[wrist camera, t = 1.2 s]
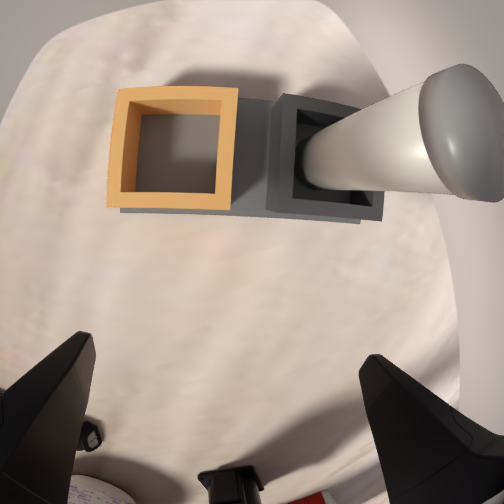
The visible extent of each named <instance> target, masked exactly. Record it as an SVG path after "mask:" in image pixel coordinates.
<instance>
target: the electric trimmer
mask: <svg viewBox="0 0 504 504" xmlns="http://www.w3.org/2000/svg"><path fill="white" fill-rule="evenodd" d="M101 443H102V440H101V437H100V434H99V431H98V428H97V426H94V425H92V424H91V423H90V422H84V423H82V427H81V431H80V436H79V440H78V445H77V449H76V451H82V450H85V451H86V452H90V451H93V450H95V449H97V448H98V447H99V446H100V445H101Z"/></svg>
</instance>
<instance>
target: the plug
mask: <svg viewBox="0 0 504 504" xmlns="http://www.w3.org/2000/svg"><path fill="white" fill-rule="evenodd" d="M294 173H295V175H296V177H297V178H298V180H299V181H300V182H301V183H302V184H303V185H305V186H306V187H308V188H310V189H314V190H368V191H399V192H420V193H436V194H449V195H456V196H457V197H460V198H462V199H468V200H477V201H485V202H499V201H501V200H502V199H503V198H504V103H503V101H502V99H501V97H500V95H499V94H498V92H497V90H496V89H495V88H494V86H493V85H492V83H491V82H490V81H489V80H488V79H487V78H486V77H485V76H484V75H483V74H482V73H481V72H480V71H479V70H477V69H476V68H474V67H472V66H470V65H466V64H458V65H455V66H452V67H450V68H447V69H445V70H442V71H440V72H437V73H435V74H432V75H431V76H429V77H428V78H427V79H426V81H425V82H422V83H420V84H418V85H415V86H413V87H410V88H408V89H406V90H403V91H401V92H399V93H397V94H394V95H392V96H390V97H388V98H385V99H383V100H381V101H379V102H377V103H375V104H373V105H370V106H368V107H366V108H364V109H362V110H360V111H358V112H356V113H354V114H352V115H350V116H348V117H346V118H344V119H342V120H340V121H338V122H336V123H334V124H332V125H330V126H328V127H326V128H324V129H323V130H321V131H319V132H317V133H315V134H313V135H311V136H309V137H308V138H306V139H304V140H302V141H301V142H300V143H299V144H298V145H297V146H296V148H295V163H294Z"/></svg>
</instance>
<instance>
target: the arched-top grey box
mask: <svg viewBox="0 0 504 504" xmlns="http://www.w3.org/2000/svg"><path fill="white" fill-rule="evenodd" d="M288 504H337V503H336V501H335V500H334V499H333V497H332V496H331V495H330V493H329V492H328V491H322V492H321V493H320V492H319V493H316V494H314V495H311V496H308V497H306V498H303V499H300V500H297V501H294V502H291V503H288Z"/></svg>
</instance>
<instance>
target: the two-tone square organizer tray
mask: <svg viewBox="0 0 504 504" xmlns="http://www.w3.org/2000/svg"><path fill="white" fill-rule="evenodd" d="M238 89H239V88H230V87H211V86H155V87H137V88H125V89H118V92H117V98H116V104H115V110H114V117H113V124H112V132H111V141H110V151H109V163H108V179H107V208H120V213H164V214H201V215H227V216H249V217H268V218H285V219H301V220H315V221H329V222H342V223H354V224H360V220H361V219H362V220H372V221H382V216H383V204H384V191H368V190H314V189H310V188H308V187H306V186H305V185H303V184H302V183H301V182H300V181H299V180H298V178H297V177H296V175H295V173H294V163H295V148H296V146H297V145H298V144H299V143H300V142H301V141H302V140H304V139H306V138H308V137H309V136H311V135H313V134H315V133H317V132H319V131H321V130H323V129H324V128H326V127H328V126H330V125H332V124H334V123H336V122H338V121H340V120H342V119H344V118H346V117H348V116H350V115H352V114H354V113H356V112H358V111H360V110H362V109H358V108H354V107H350V106H346V105H342V104H338V103H333V102H329V101H324V100H319V99H314V98H309V97H303V96H297V95H291V94H285V93H283V94H282V95H281V97H280V98H279V99H278V101H277V102H272V101H264V100H255V99H244V98H238Z"/></svg>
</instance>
